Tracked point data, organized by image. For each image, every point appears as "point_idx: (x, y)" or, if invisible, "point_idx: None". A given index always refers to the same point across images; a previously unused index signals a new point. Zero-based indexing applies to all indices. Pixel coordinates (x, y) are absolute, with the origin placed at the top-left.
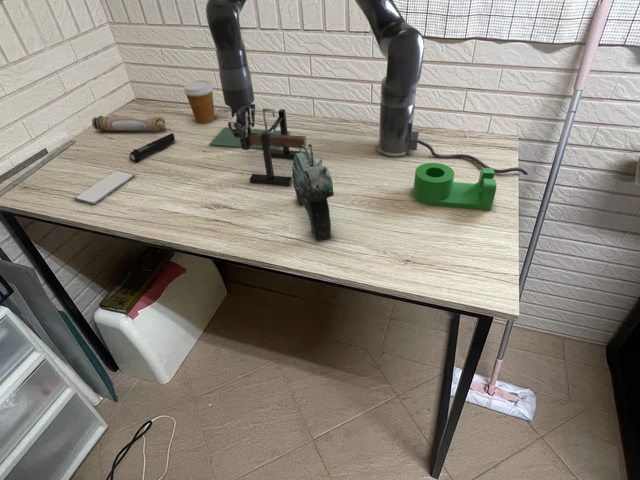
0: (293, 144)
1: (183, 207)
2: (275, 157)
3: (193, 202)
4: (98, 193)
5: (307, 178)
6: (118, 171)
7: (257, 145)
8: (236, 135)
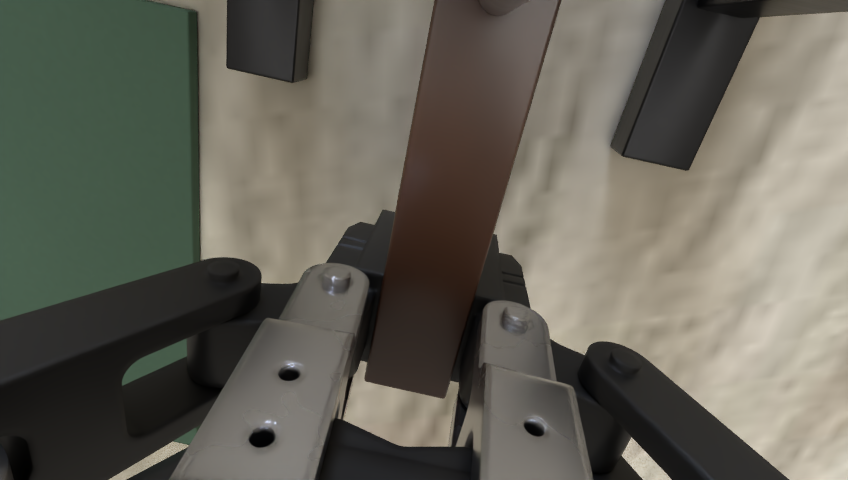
0: None
1: (827, 466)
2: (310, 9)
3: (795, 434)
4: None
5: None
6: None
7: (159, 181)
8: (617, 461)
